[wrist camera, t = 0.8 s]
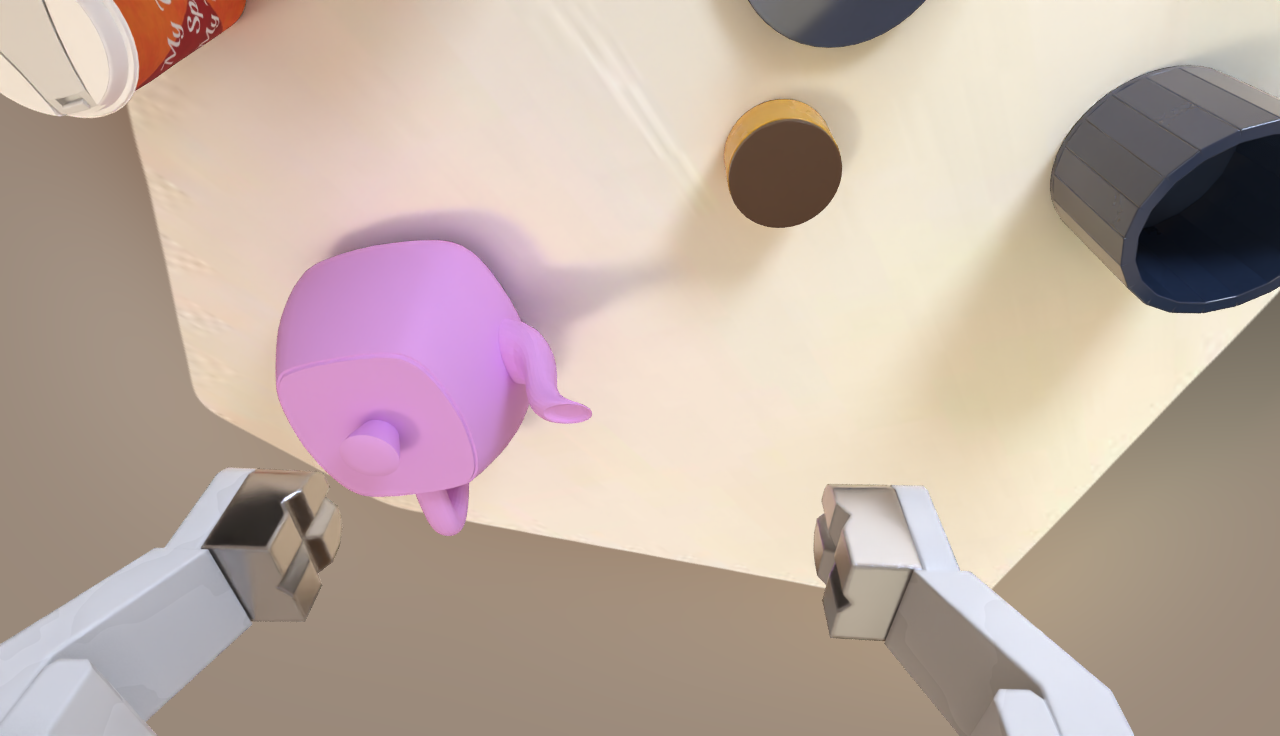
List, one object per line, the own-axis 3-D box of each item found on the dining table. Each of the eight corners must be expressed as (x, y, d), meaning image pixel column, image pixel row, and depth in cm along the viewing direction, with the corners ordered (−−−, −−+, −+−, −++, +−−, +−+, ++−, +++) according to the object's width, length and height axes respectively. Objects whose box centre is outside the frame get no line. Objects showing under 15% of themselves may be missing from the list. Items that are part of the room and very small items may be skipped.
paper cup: (290, 31, 42) (158, 106, 31) (181, 60, 43) (18, 143, 33) (213, -123, 37) (26, -96, 27) (93, -84, 39) (-132, -44, 28)
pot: (1091, 63, 42) (1182, 117, 34) (1287, 66, 42) (1422, 120, 34) (1024, 236, 49) (1088, 311, 42) (1191, 239, 49) (1285, 315, 41)
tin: (728, 97, 44) (733, 119, 41) (840, 99, 44) (853, 121, 41) (720, 201, 48) (723, 227, 45) (821, 202, 48) (832, 229, 45)
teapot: (400, 444, 64) (340, 586, 52) (281, 244, 51) (167, 372, 40) (641, 411, 61) (635, 555, 49) (578, 188, 48) (549, 309, 36)
